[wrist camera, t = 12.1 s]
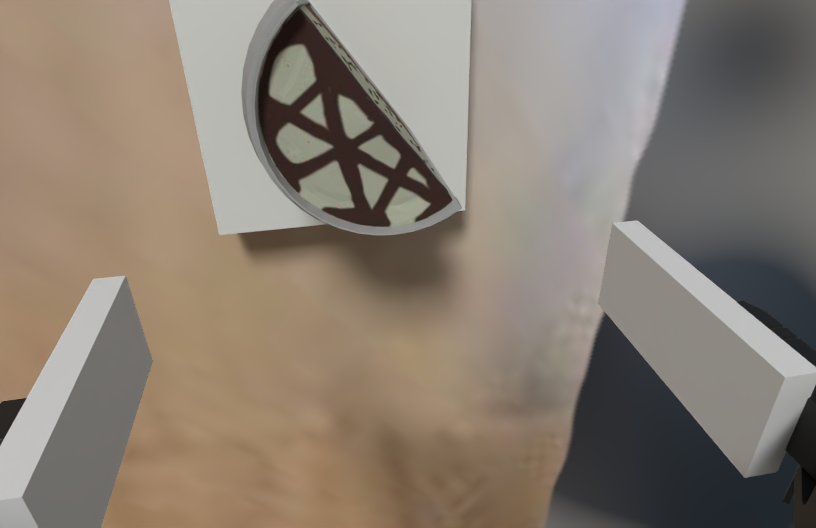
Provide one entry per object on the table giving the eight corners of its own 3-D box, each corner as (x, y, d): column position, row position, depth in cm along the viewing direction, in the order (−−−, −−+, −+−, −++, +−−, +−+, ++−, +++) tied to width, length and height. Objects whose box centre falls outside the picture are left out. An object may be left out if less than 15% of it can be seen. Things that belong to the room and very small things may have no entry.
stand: (450, 187, 42) (465, 210, 38) (225, 209, 40) (219, 235, 36) (454, -65, 34) (473, -65, 30) (171, -57, 31) (157, -56, 28)
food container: (201, 51, 31) (168, 98, 22) (287, -27, 30) (287, -10, 21) (349, 208, 37) (368, 291, 28) (425, 148, 36) (468, 216, 27)
